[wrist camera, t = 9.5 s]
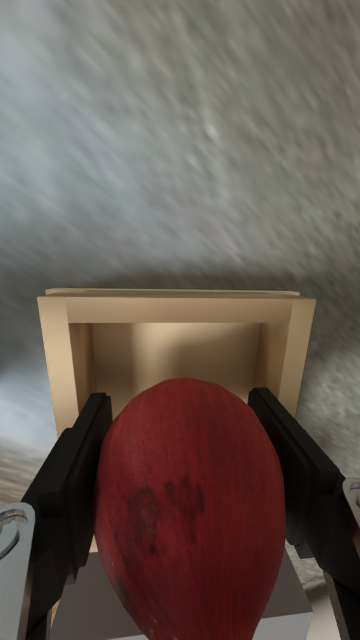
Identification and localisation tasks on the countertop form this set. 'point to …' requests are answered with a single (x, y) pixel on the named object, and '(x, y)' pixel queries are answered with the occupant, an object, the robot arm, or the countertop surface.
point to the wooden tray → (171, 343)
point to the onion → (190, 512)
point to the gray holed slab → (124, 635)
